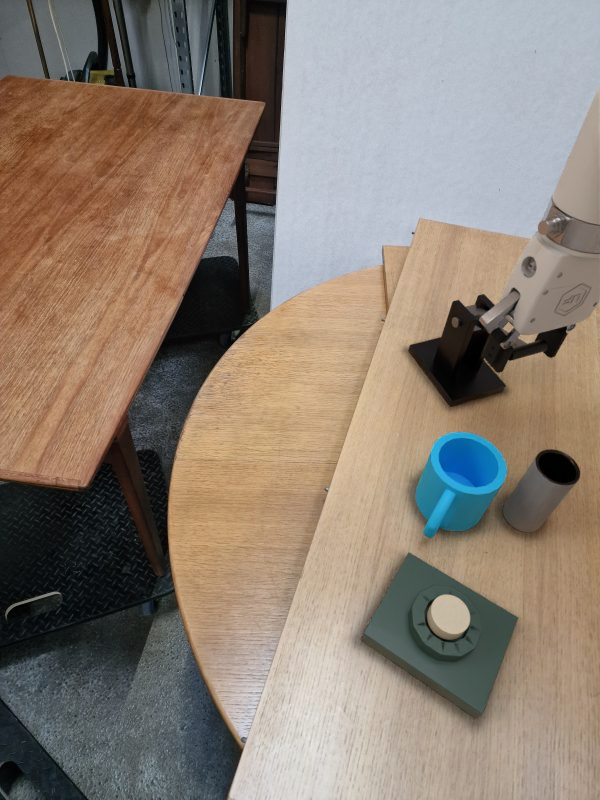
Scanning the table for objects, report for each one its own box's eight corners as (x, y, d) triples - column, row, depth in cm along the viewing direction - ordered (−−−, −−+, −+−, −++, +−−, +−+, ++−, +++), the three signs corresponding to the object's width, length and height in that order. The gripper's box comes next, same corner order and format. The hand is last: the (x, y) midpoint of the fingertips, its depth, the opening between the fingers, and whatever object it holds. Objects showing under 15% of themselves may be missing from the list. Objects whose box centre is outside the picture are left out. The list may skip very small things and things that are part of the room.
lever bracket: (503, 391, 74) (534, 328, 65) (450, 406, 72) (474, 344, 63) (457, 337, 81) (480, 274, 72) (407, 350, 79) (424, 287, 70)
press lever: (545, 356, 62) (549, 339, 61) (511, 366, 61) (515, 348, 59) (481, 318, 71) (483, 302, 70) (450, 325, 70) (452, 309, 69)
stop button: (470, 615, 49) (476, 608, 48) (456, 648, 47) (461, 642, 46) (436, 593, 51) (440, 586, 49) (420, 625, 49) (424, 618, 47)
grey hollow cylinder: (540, 538, 59) (581, 491, 51) (500, 525, 60) (534, 477, 52) (542, 505, 62) (581, 456, 54) (504, 493, 63) (536, 443, 55)
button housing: (510, 624, 53) (525, 610, 50) (475, 718, 47) (489, 709, 44) (404, 560, 57) (412, 544, 54) (360, 640, 51) (365, 627, 48)
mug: (432, 460, 66) (449, 420, 59) (493, 493, 63) (517, 455, 57) (387, 530, 59) (400, 493, 53) (453, 571, 56) (475, 537, 50)
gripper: (536, 261, 45) (475, 397, 58) (682, 228, 49) (595, 361, 63) (485, 218, 49) (440, 353, 63) (624, 192, 54) (554, 323, 67)
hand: (518, 356), depth 63 cm, fingers open, 7 cm apart
